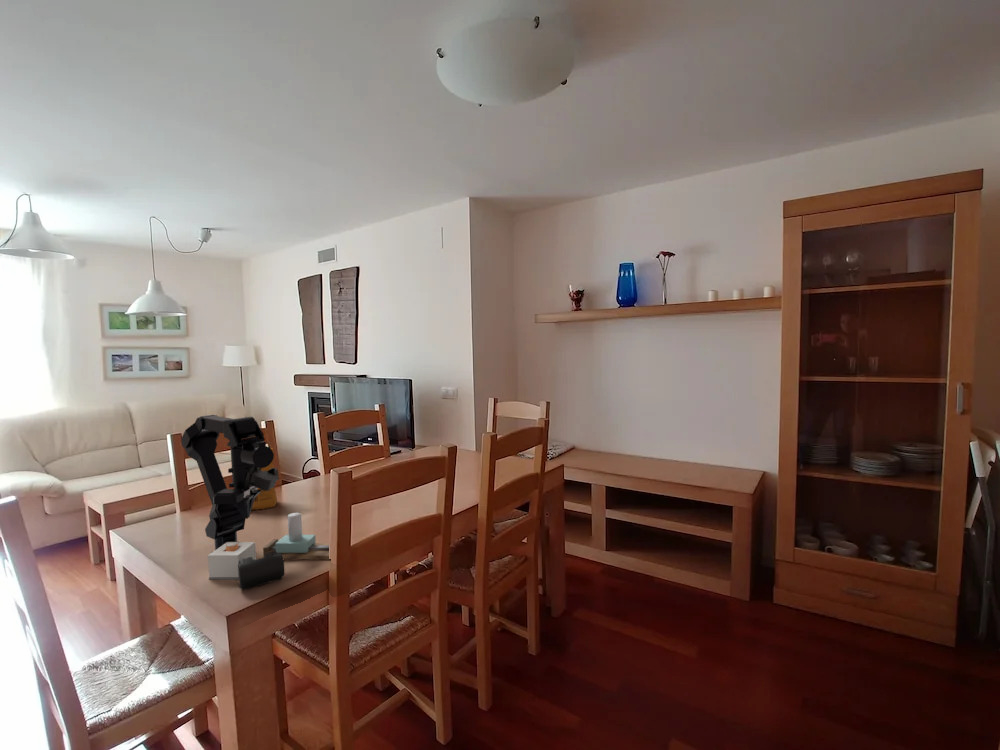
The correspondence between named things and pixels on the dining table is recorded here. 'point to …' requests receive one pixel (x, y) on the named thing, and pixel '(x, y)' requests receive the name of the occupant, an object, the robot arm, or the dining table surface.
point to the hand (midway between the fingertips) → (246, 518)
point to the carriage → (295, 537)
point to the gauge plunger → (232, 546)
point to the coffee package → (265, 494)
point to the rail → (313, 553)
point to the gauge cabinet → (229, 561)
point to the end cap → (260, 570)
